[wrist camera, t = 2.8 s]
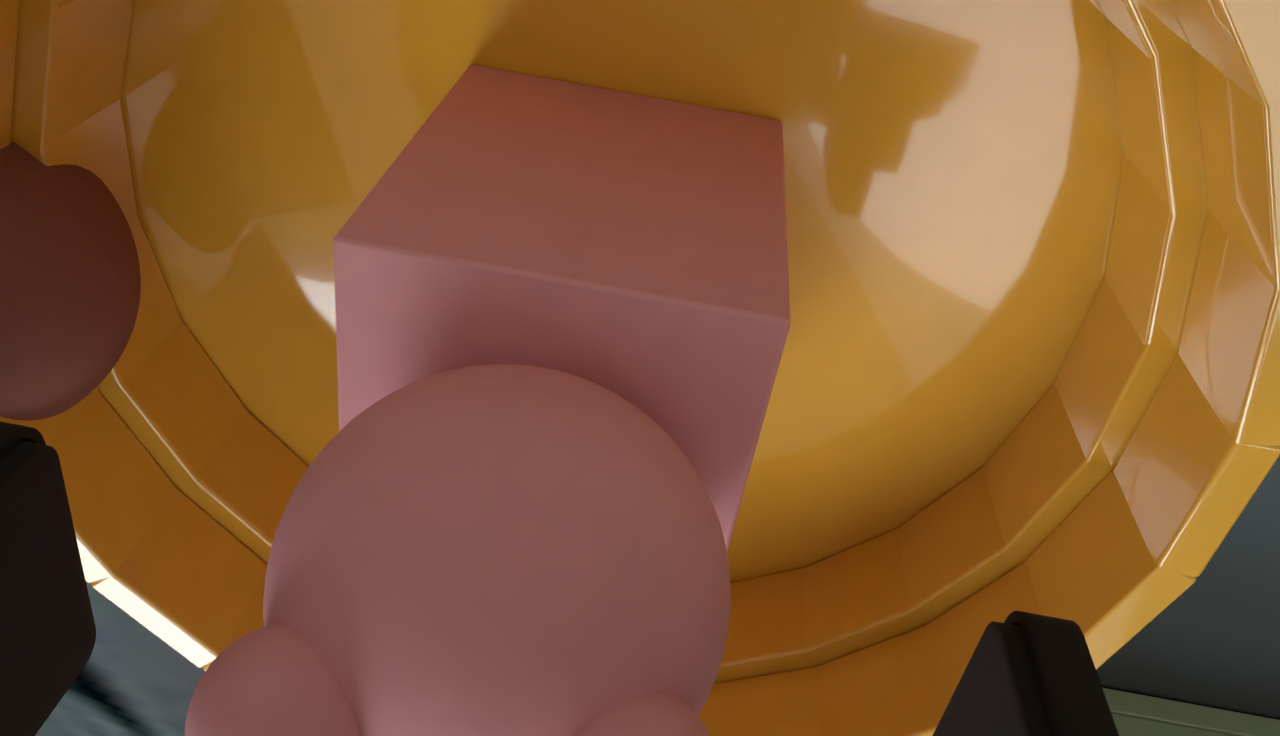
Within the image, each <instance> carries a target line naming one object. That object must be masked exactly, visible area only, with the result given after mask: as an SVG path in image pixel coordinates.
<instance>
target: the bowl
mask: <svg viewBox="0 0 1280 736" xmlns="http://www.w3.org/2000/svg"><path fill="white" fill-rule="evenodd" d="M470 65H477V66H483V67H488V68H494V69H499V70H505V71H510V72H516V73H521V74H527V75H532V76H538V77H543V78H549V79H554V80H560V81H565V82H571V83H576V84H582V85H587V86H593V87H598V88H604V89H609V90H615V91H620V92H626V93H631V94H637V95H642V96H648V97H653V98H659V99H664V100H670V101H675V102H681V103H686V104H691V105H697V106H702V107H708V108H713V109H719V110H724V111H730V112H735V113H741V114H746V115H752V116H757V117H763V118H768V119H774V120H779V121H781V122H782V125H783V146H784V171H785V196H786V221H787V245H788V270H789V295H790V320H791V324H790V328H789V331H788V335H787V338H786V342H785V346H784V349H783V353H782V356H781V360H780V364H779V367H778V371H777V374H776V378H775V382H774V385H773V389H772V392H771V396H770V400H769V403H768V407H767V410H766V414H765V418H764V421H763V425H762V428H761V432H760V436H759V439H758V443H757V446H756V450H755V454H754V457H753V461H752V464H751V468H750V472H749V475H748V479H747V482H746V486H745V490H744V493H743V497H742V500H741V504H740V508H739V511H738V515H737V518H736V522H735V526H734V529H733V533H732V536H731V540H730V544H729V547H728V551H727V556H728V562H729V568H730V588H731V603H730V618H729V626H728V634H727V639H726V644H725V649H724V654H723V657H722V660H721V664H720V667H719V670H718V673H717V677H716V679H715V681H714V684H713V686H712V689H711V691H710V694H709V696H708V698H707V700H706V702H705V704H704V706H703V708H702V710H701V712H700V714H699V716H698V717H699V718H700V719H701V721H702V722H703V724H704V725H705V727H706V728H707V730H708V732H709V734H710V736H933V734H934V732H935V730H936V727H937V725H938V723H939V721H940V719H941V717H942V715H943V713H944V711H945V709H946V707H947V705H948V703H949V701H950V699H951V697H952V695H953V693H954V691H955V689H956V687H957V685H958V683H959V681H960V679H961V677H962V675H963V673H964V671H965V669H966V667H967V665H968V663H969V661H970V659H971V657H972V655H973V653H974V651H975V649H976V647H977V645H978V643H979V641H980V639H981V637H982V635H983V633H984V630H985V629H986V627H987V626H988V624H989V623H991V622H992V621H994V622H1001V623H1004V621H1005V620H1006V618H1007V617H1008V615H1009V614H1010V613H1012V612H1013V611H1023V612H1028V613H1034V614H1039V615H1044V616H1050V617H1055V618H1060V619H1066V620H1071V621H1074V622H1075V623H1076V624H1078V625H1079V627H1080V629H1081V630H1082V632H1083V634H1084V637H1085V640H1086V643H1087V646H1088V649H1089V651H1090V654H1091V657H1092V660H1093V663H1094V666H1095V669H1096V670H1097V669H1098V668H1099V667H1100V666H1101V665H1102V664H1103V663H1105V662H1106V661H1107V660H1108V659H1109V658H1110V657H1111V656H1112V655H1114V654H1115V653H1116V652H1117V651H1118V650H1119V649H1120V648H1122V647H1123V646H1124V645H1125V644H1126V643H1127V642H1128V641H1129V640H1131V639H1132V638H1133V637H1134V636H1135V635H1136V634H1137V633H1138V632H1140V631H1141V630H1142V629H1143V628H1144V627H1145V626H1146V625H1147V624H1149V623H1150V622H1151V621H1152V620H1153V619H1154V618H1155V617H1156V616H1158V615H1159V614H1160V613H1161V612H1162V611H1163V610H1164V609H1165V608H1167V607H1168V606H1169V605H1170V604H1171V603H1172V602H1173V601H1174V600H1176V599H1177V598H1178V597H1179V596H1180V595H1181V594H1182V593H1183V592H1185V591H1186V590H1187V589H1188V588H1189V587H1190V586H1191V585H1192V584H1194V583H1195V581H1196V577H1198V576H1200V574H1201V573H1202V571H1203V570H1204V568H1205V567H1206V565H1207V564H1208V562H1209V561H1210V559H1211V558H1212V556H1213V555H1214V553H1215V552H1216V550H1217V549H1218V547H1219V546H1220V544H1221V543H1222V541H1223V540H1224V538H1225V537H1226V535H1227V534H1228V532H1229V531H1230V529H1231V528H1232V526H1233V525H1234V523H1235V522H1236V520H1237V519H1238V517H1239V516H1240V514H1241V513H1242V511H1243V510H1244V508H1245V507H1246V505H1247V504H1248V502H1249V501H1250V499H1251V498H1252V496H1253V495H1254V493H1255V492H1256V490H1257V489H1258V487H1259V486H1260V484H1261V483H1262V481H1263V480H1264V478H1265V477H1266V475H1267V474H1268V472H1269V471H1270V469H1271V468H1272V466H1273V465H1274V463H1275V462H1276V460H1277V459H1278V457H1279V456H1280V0H0V149H1V148H3V147H5V146H7V145H9V144H11V141H13V142H14V143H16V144H17V145H19V146H20V147H22V148H23V149H24V150H26V151H27V152H28V153H30V154H31V155H32V156H34V157H35V158H36V159H37V160H38V161H40V162H41V163H43V164H44V165H46V166H53V165H61V164H70V165H78V166H80V167H83V168H85V169H87V170H90V171H91V172H93V173H94V174H95V175H96V176H97V177H99V178H100V179H101V180H102V181H103V182H104V183H105V185H106V186H107V187H108V189H109V190H110V191H111V193H112V194H113V196H114V197H115V199H116V201H117V202H118V204H119V206H120V207H121V209H122V211H123V213H124V215H125V217H126V220H127V222H128V224H129V226H130V229H131V231H132V234H133V237H134V241H135V244H136V248H137V253H138V258H139V264H140V274H141V293H140V303H139V309H138V314H137V319H136V322H135V325H134V329H133V331H132V334H131V337H130V339H129V341H128V344H127V346H126V347H125V349H124V351H123V353H122V355H121V357H120V358H119V360H118V361H117V363H116V364H115V366H114V367H113V369H112V370H111V371H110V373H109V374H108V375H107V376H106V378H105V379H104V380H103V381H102V382H101V383H100V384H99V385H98V386H97V387H96V388H95V389H94V390H93V391H92V392H91V393H90V394H89V395H88V396H86V397H85V398H84V399H83V400H81V401H80V402H79V403H78V404H76V405H75V406H73V407H72V408H70V409H68V410H67V411H65V412H63V413H61V414H58V415H56V416H53V417H49V418H45V419H39V420H30V421H24V420H14V419H9V418H4V417H0V422H6V423H11V424H17V425H22V426H27V427H32V428H35V429H37V430H38V431H39V432H40V433H41V434H42V435H43V438H44V440H45V443H46V445H48V446H52V447H53V448H54V449H55V450H56V451H57V453H58V456H59V460H60V464H61V469H62V474H63V478H64V483H65V488H66V492H67V497H68V502H69V506H70V511H71V516H72V520H73V525H74V530H75V534H76V539H77V544H78V548H79V553H80V558H81V562H82V567H83V572H84V576H85V581H86V582H87V583H92V584H91V586H92V588H93V589H95V590H96V591H97V592H99V593H100V594H101V595H103V596H104V597H105V598H107V599H108V600H109V601H111V602H112V603H113V604H115V605H116V606H117V607H119V608H120V609H121V610H123V611H124V612H125V613H126V614H128V615H129V616H130V617H132V618H133V619H134V620H136V621H137V622H138V623H140V624H141V625H142V626H144V627H145V628H146V629H148V630H149V631H150V632H152V633H153V634H154V635H155V636H157V637H158V638H159V639H161V640H162V641H163V642H165V643H166V644H167V645H169V646H170V647H171V648H173V649H174V650H175V651H177V652H178V653H179V654H181V655H182V656H183V657H185V658H186V659H187V660H188V661H190V662H191V663H192V664H194V665H195V666H196V667H198V668H203V671H204V672H205V671H206V670H207V668H208V667H209V666H210V664H211V663H212V662H213V661H214V660H215V659H216V657H217V656H218V655H219V654H220V653H221V652H222V651H224V650H225V649H226V648H227V647H228V646H229V645H231V644H232V643H233V642H235V641H236V640H238V639H239V638H241V637H243V636H244V635H246V634H248V633H249V632H252V631H254V630H256V629H259V628H261V627H264V618H263V598H264V587H265V576H266V570H267V565H268V560H269V555H270V551H271V547H272V543H273V540H274V536H275V533H276V529H277V527H278V524H279V522H280V520H281V517H282V515H283V512H284V510H285V508H286V506H287V504H288V501H289V499H290V497H291V495H292V493H293V491H294V489H295V487H296V486H297V484H298V483H299V481H300V480H301V478H302V477H303V475H304V474H305V472H306V471H307V469H308V468H309V466H310V465H311V464H312V462H313V461H314V459H315V458H316V457H317V455H318V454H319V452H320V451H321V450H322V449H323V448H324V447H325V446H326V445H327V444H328V443H329V442H330V441H331V440H332V439H333V438H334V436H335V435H336V434H337V433H338V432H339V413H338V378H337V343H336V308H335V273H334V238H335V236H336V235H337V233H338V232H339V231H340V230H341V228H342V227H343V226H344V225H345V223H346V222H347V221H348V219H349V218H350V217H351V216H352V214H353V213H354V212H355V211H356V209H357V208H358V207H359V205H360V204H361V203H362V202H363V200H364V199H365V198H366V197H367V195H368V194H369V193H370V191H371V190H372V189H373V188H374V186H375V185H376V184H377V183H378V181H379V180H380V179H381V177H382V176H383V175H384V174H385V172H386V171H387V170H388V169H389V167H390V166H391V165H392V163H393V162H394V161H395V160H396V158H397V157H398V156H399V155H400V153H401V152H402V151H403V149H404V148H405V147H406V146H407V144H408V143H409V142H410V141H411V139H412V138H413V137H414V135H415V134H416V133H417V132H418V130H419V129H420V128H421V127H422V125H423V124H424V123H425V122H426V120H427V119H428V118H429V116H430V115H431V114H432V113H433V111H434V110H435V109H436V108H437V106H438V105H439V104H440V102H441V101H442V100H443V99H444V97H445V96H446V95H447V94H448V92H449V91H450V90H451V88H452V87H453V86H454V85H455V83H456V82H457V81H458V80H459V78H460V77H461V76H462V74H463V73H464V72H465V71H466V69H467V68H468V67H469V66H470Z"/></svg>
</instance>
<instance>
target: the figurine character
mask: <svg viewBox="0 0 1280 736" xmlns="http://www.w3.org/2000/svg"><path fill="white" fill-rule="evenodd" d="M140 293H141V274H140V264H139V258H138V253H137V248H136V244H135V241H134V237H133V234H132V231H131V229H130V226H129V224H128V222H127V220H126V217H125V215H124V213H123V211H122V209H121V207H120V206H119V204H118V202H117V201H116V199H115V197H114V196H113V194H112V193H111V191H110V190H109V189H108V187H107V186H106V185H105V183H104V182H103V181H102V180H101V179H100V178H99V177H97V176H96V175H95V174H94V173H93V172H91V171H90V170H87V169H85V168H83V167H80V166H78V165H70V164H61V165H53V166H46V165H44V164H43V163H41V162H40V161H38V160H37V159H36V158H35V157H34V156H32V155H31V154H30V153H28V152H27V151H26V150H24V149H23V148H22V147H20V146H19V145H17V144H16V143H14V142H13V141H11V144H9V145H7V146H5V147H3V148H1V149H0V417H4V418H9V419H14V420H24V421H30V420H39V419H45V418H49V417H53V416H56V415H58V414H61V413H63V412H65V411H67V410H68V409H70V408H72V407H73V406H75V405H76V404H78V403H79V402H80V401H81V400H83V399H84V398H85V397H86V396H88V395H89V394H90V393H91V392H92V391H93V390H94V389H95V388H96V387H97V386H98V385H99V384H100V383H101V382H102V381H103V380H104V379H105V378H106V376H107V375H108V374H109V373H110V371H111V370H112V369H113V367H114V366H115V364H116V363H117V361H118V360H119V358H120V357H121V355H122V353H123V351H124V349H125V347H126V346H127V344H128V341H129V339H130V337H131V334H132V331H133V329H134V325H135V322H136V319H137V314H138V309H139V303H140Z"/></svg>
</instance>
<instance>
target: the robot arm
mask: <svg viewBox="0 0 1280 736" xmlns="http://www.w3.org/2000/svg"><path fill="white" fill-rule="evenodd" d="M95 637H96V628H95V623H94V618H93V614H92V609H91V604H90V600H89V595H88V590H87V586H86V581H85V576H84V572H83V567H82V562H81V558H80V553H79V548H78V544H77V539H76V534H75V530H74V525H73V520H72V516H71V511H70V506H69V502H68V497H67V492H66V488H65V483H64V478H63V474H62V469H61V464H60V460H59V456H58V453H57V451H56V450H55V449H54V448H53V447H52V446H48V445H46V443H45V440H44V438H43V435H42V434H41V433H40V432H39V431H38V430H37V429H35V428H32V427H27V426H22V425H17V424H11V423H6V422H0V736H35V735H36V733H37V732H38V730H39V729H40V728H41V726H42V725H43V723H44V722H45V721H46V719H47V718H48V717H49V715H50V714H51V712H52V711H53V710H54V708H55V707H56V705H57V704H58V703H59V701H60V700H61V698H62V697H63V696H64V694H65V693H66V692H67V690H68V689H69V687H70V686H71V685H72V683H73V682H74V680H75V679H76V678H77V676H78V675H79V674H80V672H81V671H82V669H83V668H84V666H85V665H86V663H87V661H88V660H89V658H90V655H91V653H92V650H93V647H94V643H95ZM933 736H1119V734H1118V731H1117V728H1116V726H1115V723H1114V720H1113V717H1112V714H1111V711H1110V708H1109V706H1108V703H1107V700H1106V697H1105V694H1104V691H1103V689H1102V686H1101V683H1100V680H1099V677H1098V674H1097V671H1096V669H1095V666H1094V663H1093V660H1092V657H1091V654H1090V651H1089V649H1088V646H1087V643H1086V640H1085V637H1084V634H1083V632H1082V630H1081V629H1080V627H1079V625H1078V624H1076V623H1075V622H1074V621H1071V620H1066V619H1060V618H1055V617H1050V616H1044V615H1039V614H1034V613H1028V612H1023V611H1013V612H1012V613H1010V614H1009V615H1008V617H1007V618H1006V620H1005V621H1004V623H1001V622H994V621H992V622H991V623H989V624H988V626H987V627H986V629H985V630H984V633H983V635H982V637H981V639H980V641H979V643H978V645H977V647H976V649H975V651H974V653H973V655H972V657H971V659H970V661H969V663H968V665H967V667H966V669H965V671H964V673H963V675H962V677H961V679H960V681H959V683H958V685H957V687H956V689H955V691H954V693H953V695H952V697H951V699H950V701H949V703H948V705H947V707H946V709H945V711H944V713H943V715H942V717H941V719H940V721H939V723H938V725H937V727H936V730H935V732H934V734H933Z"/></svg>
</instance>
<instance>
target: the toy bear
mask: <svg viewBox="0 0 1280 736" xmlns="http://www.w3.org/2000/svg"><path fill="white" fill-rule="evenodd" d="M334 273H335V308H336V343H337V378H338V413H339V432H338V433H337V434H336V435H335V436H334V438H333V439H332V440H331V441H330V442H329V443H328V444H327V445H326V446H325V447H324V448H323V449H322V450H321V451H320V452H319V454H318V455H317V457H316V458H315V459H314V461H313V462H312V464H311V465H310V466H309V468H308V469H307V471H306V472H305V474H304V475H303V477H302V478H301V480H300V481H299V483H298V484H297V486H296V487H295V489H294V491H293V493H292V495H291V497H290V499H289V501H288V504H287V506H286V508H285V510H284V512H283V515H282V517H281V520H280V522H279V524H278V527H277V529H276V533H275V536H274V540H273V543H272V547H271V551H270V555H269V560H268V565H267V570H266V576H265V587H264V598H263V618H264V627H261V628H259V629H256V630H254V631H252V632H249V633H248V634H246V635H244V636H243V637H241V638H239V639H238V640H236V641H235V642H233V643H232V644H231V645H229V646H228V647H227V648H226V649H225V650H224V651H222V652H221V653H220V654H219V655H218V656H217V657H216V659H215V660H214V661H213V662H212V663H211V664H210V666H209V667H208V668H207V670H206V671H205V673H204V674H203V676H202V677H201V679H200V680H199V682H198V684H197V686H196V688H195V691H194V693H193V695H192V698H191V701H190V704H189V707H188V711H187V718H186V725H185V736H710V734H709V732H708V730H707V728H706V727H705V725H704V724H703V722H702V721H701V719H700V718H699V717H698V716H699V714H700V712H701V710H702V708H703V706H704V704H705V702H706V700H707V698H708V696H709V694H710V691H711V689H712V686H713V684H714V681H715V679H716V677H717V673H718V670H719V667H720V664H721V660H722V657H723V654H724V649H725V644H726V639H727V634H728V626H729V618H730V603H731V588H730V568H729V562H728V556H727V551H728V547H729V544H730V540H731V536H732V533H733V529H734V526H735V522H736V518H737V515H738V511H739V508H740V504H741V500H742V497H743V493H744V490H745V486H746V482H747V479H748V475H749V472H750V468H751V464H752V461H753V457H754V454H755V450H756V446H757V443H758V439H759V436H760V432H761V428H762V425H763V421H764V418H765V414H766V410H767V407H768V403H769V400H770V396H771V392H772V389H773V385H774V382H775V378H776V374H777V371H778V367H779V364H780V360H781V356H782V353H783V349H784V346H785V342H786V338H787V335H788V331H789V328H790V324H791V320H790V295H789V270H788V245H787V221H786V196H785V171H784V146H783V125H782V122H781V121H779V120H774V119H768V118H763V117H757V116H752V115H746V114H741V113H735V112H730V111H724V110H719V109H713V108H708V107H702V106H697V105H691V104H686V103H681V102H675V101H670V100H664V99H659V98H653V97H648V96H642V95H637V94H631V93H626V92H620V91H615V90H609V89H604V88H598V87H593V86H587V85H582V84H576V83H571V82H565V81H560V80H554V79H549V78H543V77H538V76H532V75H527V74H521V73H516V72H510V71H505V70H499V69H494V68H488V67H483V66H477V65H470V66H469V67H468V68H467V69H466V71H465V72H464V73H463V74H462V76H461V77H460V78H459V80H458V81H457V82H456V83H455V85H454V86H453V87H452V88H451V90H450V91H449V92H448V94H447V95H446V96H445V97H444V99H443V100H442V101H441V102H440V104H439V105H438V106H437V108H436V109H435V110H434V111H433V113H432V114H431V115H430V116H429V118H428V119H427V120H426V122H425V123H424V124H423V125H422V127H421V128H420V129H419V130H418V132H417V133H416V134H415V135H414V137H413V138H412V139H411V141H410V142H409V143H408V144H407V146H406V147H405V148H404V149H403V151H402V152H401V153H400V155H399V156H398V157H397V158H396V160H395V161H394V162H393V163H392V165H391V166H390V167H389V169H388V170H387V171H386V172H385V174H384V175H383V176H382V177H381V179H380V180H379V181H378V183H377V184H376V185H375V186H374V188H373V189H372V190H371V191H370V193H369V194H368V195H367V197H366V198H365V199H364V200H363V202H362V203H361V204H360V205H359V207H358V208H357V209H356V211H355V212H354V213H353V214H352V216H351V217H350V218H349V219H348V221H347V222H346V223H345V225H344V226H343V227H342V228H341V230H340V231H339V232H338V233H337V235H336V236H335V238H334Z"/></svg>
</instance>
